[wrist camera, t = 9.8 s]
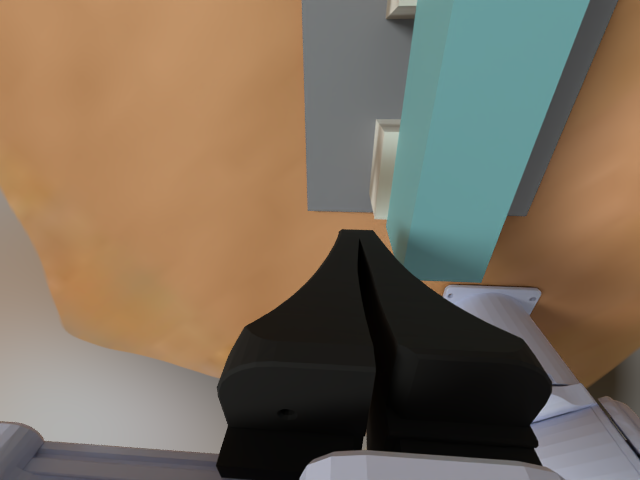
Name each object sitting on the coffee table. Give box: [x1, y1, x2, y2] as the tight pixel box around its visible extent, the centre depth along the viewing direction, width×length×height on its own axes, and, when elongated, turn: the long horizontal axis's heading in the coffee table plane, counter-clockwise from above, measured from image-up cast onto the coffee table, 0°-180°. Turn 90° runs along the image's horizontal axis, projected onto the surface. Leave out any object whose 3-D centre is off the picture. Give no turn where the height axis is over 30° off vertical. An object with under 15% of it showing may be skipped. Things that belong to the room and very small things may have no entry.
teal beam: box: [386, 0, 590, 283], centre depth 11 cm, size 16×4×5 cm, turn 0°
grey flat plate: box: [302, 0, 618, 216], centre depth 17 cm, size 18×16×1 cm
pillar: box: [369, 119, 401, 219], centre depth 17 cm, size 5×5×4 cm
